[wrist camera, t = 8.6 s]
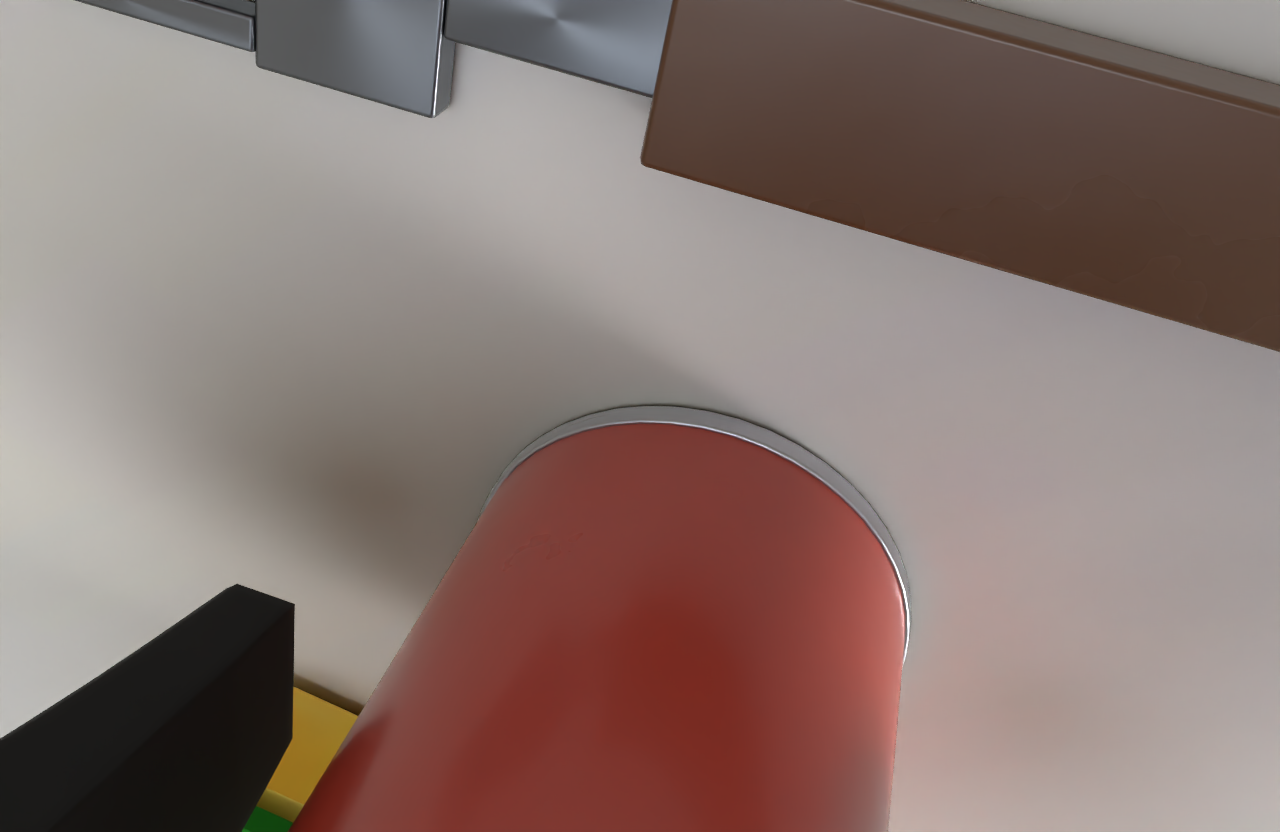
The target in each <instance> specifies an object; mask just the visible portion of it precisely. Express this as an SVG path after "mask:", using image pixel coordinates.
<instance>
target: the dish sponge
mask: <svg viewBox="0 0 1280 832" xmlns="http://www.w3.org/2000/svg"><path fill="white" fill-rule="evenodd" d="M357 718H358V716H357V715H355V714H353V713H351V712H348V711H346V710H344V709H342V708H340V707H337V706H335V705H333V704H331V703H329V702H326V701H324V700H322V699H320V698H318V697H315V696H313V695H311V694H309V693H307V692H304V691H302V690H300V689H298V688H296V687H294V686H293V739H292V740H291V742H290V744H289V746H288V748H287V750H286V752H285V754H284V755H283V757H282V759H281V761H280V763H279V765H278V767H277V769H276V770H275V772H274V774H273V776H272V778H271V780H270V782H269V783H268V785H267V787H266V789H265V791H264V793H263V795H262V796H261V798H260V800H259V802H258V803H257V805H256V807H255V809H254V811H253V812H252V814H251V816H250V818H249V819H248V821H247V823H246V825H245V827H244V828H243V830H242V832H288V830H289V829H290V827H291V826H292V824H293V822H294V821H295V819H296V817H297V816H298V814H299V813H300V811H301V809H302V808H303V806H304V804H305V803H306V801H307V799H308V798H309V796H310V795H311V793H312V791H313V790H314V788H315V786H316V785H317V783H318V781H319V780H320V778H321V777H322V775H323V773H324V772H325V770H326V768H327V767H328V765H329V763H330V762H331V760H332V759H333V757H334V755H335V754H336V752H337V750H338V749H339V747H340V745H341V744H342V742H343V741H344V739H345V737H346V736H347V734H348V732H349V731H350V729H351V727H352V726H353V724H354V723H355V721H356V719H357Z"/></svg>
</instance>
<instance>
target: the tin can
mask: <svg viewBox="0 0 1280 832" xmlns="http://www.w3.org/2000/svg"><path fill="white" fill-rule="evenodd" d="M910 627H911V596H910V590H909V585H908V579H907V574H906V571H905V568H904V565H903V562H902V560H901V557H900V554H899V551H898V549H897V547H896V545H895V543H894V541H893V540H892V538H891V536H890V534H889V532H888V530H887V528H886V526H885V525H884V524H883V522H882V521H881V520H880V518H879V517H878V515H877V514H876V513H875V511H874V510H873V508H872V507H871V506H870V504H869V503H868V502H867V501H866V500H865V499H864V498H863V497H862V496H861V494H860V493H859V492H858V491H857V490H856V489H855V488H854V487H853V486H852V485H851V484H850V483H849V482H848V481H847V480H846V479H845V478H843V477H842V476H841V475H840V474H839V473H837V472H836V471H835V470H834V469H833V468H831V467H830V466H829V465H828V464H826V463H825V462H824V461H822V460H821V459H819V458H818V457H816V456H815V455H813V454H812V453H810V452H809V451H807V450H805V449H804V448H802V447H801V446H799V445H798V444H796V443H794V442H792V441H790V440H788V439H786V438H784V437H782V436H780V435H778V434H776V433H774V432H772V431H770V430H767V429H765V428H762V427H759V426H757V425H754V424H751V423H749V422H746V421H743V420H741V419H737V418H733V417H729V416H725V415H722V414H718V413H714V412H710V411H704V410H697V409H690V408H683V407H670V406H639V407H628V408H617V409H613V410H608V411H603V412H599V413H594V414H590V415H587V416H584V417H582V418H579V419H576V420H573V421H571V422H568V423H565V424H563V425H561V426H559V427H557V428H555V429H554V430H552V431H550V432H548V433H546V434H544V435H542V436H541V437H539V438H538V439H537V440H535V441H534V442H533V443H531V444H530V445H529V446H528V447H526V448H525V449H524V450H522V451H521V452H520V453H519V454H518V456H517V457H516V458H515V459H514V460H513V461H512V462H511V463H510V464H509V465H508V466H507V467H506V469H505V470H504V472H503V473H502V475H501V476H500V478H499V479H498V481H497V482H496V484H495V485H494V487H493V489H492V490H491V492H490V493H489V495H488V497H487V499H486V501H485V504H484V506H483V508H482V511H481V513H480V515H479V519H478V521H477V523H476V525H475V526H474V528H473V530H472V531H471V533H470V535H469V536H468V538H467V539H466V541H465V543H464V544H463V546H462V548H461V549H460V551H459V553H458V554H457V556H456V557H455V559H454V561H453V562H452V564H451V566H450V567H449V569H448V571H447V572H446V574H445V575H444V577H443V579H442V580H441V582H440V584H439V585H438V587H437V589H436V590H435V592H434V593H433V595H432V597H431V598H430V600H429V602H428V603H427V605H426V607H425V608H424V610H423V611H422V613H421V615H420V616H419V618H418V620H417V621H416V623H415V624H414V626H413V628H412V629H411V631H410V633H409V634H408V636H407V638H406V639H405V641H404V642H403V644H402V646H401V647H400V649H399V651H398V652H397V654H396V656H395V657H394V659H393V660H392V662H391V664H390V665H389V667H388V669H387V670H386V672H385V674H384V675H383V677H382V678H381V680H380V682H379V683H378V685H377V687H376V688H375V690H374V692H373V693H372V695H371V696H370V698H369V700H368V701H367V703H366V705H365V706H364V708H363V710H362V711H361V713H360V714H359V716H358V718H357V719H356V721H355V723H354V724H353V726H352V727H351V729H350V731H349V732H348V734H347V736H346V737H345V739H344V741H343V742H342V744H341V745H340V747H339V749H338V750H337V752H336V754H335V755H334V757H333V759H332V760H331V762H330V763H329V765H328V767H327V768H326V770H325V772H324V773H323V775H322V777H321V778H320V780H319V781H318V783H317V785H316V786H315V788H314V790H313V791H312V793H311V795H310V796H309V798H308V799H307V801H306V803H305V804H304V806H303V808H302V809H301V811H300V813H299V814H298V816H297V817H296V819H295V821H294V822H293V824H292V826H291V827H290V829H289V830H288V832H888V825H889V813H890V802H891V790H892V779H893V768H894V756H895V745H896V733H897V722H898V710H899V699H900V687H901V676H902V666H903V663H904V661H905V658H906V653H907V648H908V643H909V637H910Z"/></svg>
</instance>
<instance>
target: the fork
mask: <svg viewBox="0 0 1280 832" xmlns="http://www.w3.org/2000/svg"><path fill="white" fill-rule="evenodd" d="M75 1H79V2H82V3H86V4H89V5H92V6H96V7H99V8H103V9H106V10H109V11H113V12H116V13H120V14H123V15H127V16H130V17H133V18H137V19H140V20H144V21H147V22H151V23H154V24H157V25H161V26H164V27H168V28H171V29H174V30H178V31H181V32H185V33H188V34H192V35H195V36H198V37H202V38H205V39H209V40H212V41H215V42H219V43H222V44H226V45H229V46H233V47H236V48H239V49H243V50H246V51H250V52H255V51H256V65H257V66H258V67H259V68H262V69H265V70H269V71H272V72H276V73H279V74H282V75H286V76H289V77H293V78H296V79H299V80H303V81H306V82H310V83H313V84H317V85H320V86H323V87H327V88H330V89H334V90H337V91H340V92H344V93H347V94H351V95H354V96H357V97H361V98H364V99H368V100H371V101H374V102H378V103H381V104H385V105H388V106H391V107H395V108H398V109H402V110H405V111H408V112H412V113H415V114H419V115H422V116H425V117H429V118H435V117H436V116H437V115H439V114H440V113H441V112H443V111H444V110H445V109H446V108H448V106H449V104H450V94H451V83H452V73H453V62H454V52H455V42H457V43H461V44H464V45H468V46H471V47H475V48H478V49H482V50H485V51H489V52H492V53H496V54H499V55H503V56H506V57H510V58H513V59H517V60H520V61H524V62H527V63H531V64H534V65H538V66H541V67H545V68H548V69H552V70H555V71H559V72H562V73H566V74H569V75H573V76H576V77H580V78H583V79H587V80H590V81H594V82H597V83H601V84H604V85H608V86H611V87H615V88H618V89H622V90H625V91H629V92H632V93H636V94H639V95H643V96H646V97H650V98H652V103H651V108H650V113H649V117H648V122H647V127H646V132H645V137H644V142H643V147H642V152H641V156H640V158H641V164H642V165H644V166H646V167H649V168H653V169H656V170H659V171H663V172H666V173H670V174H673V175H677V176H680V177H683V178H687V179H690V180H694V181H697V182H700V183H704V184H707V185H711V186H714V187H718V188H721V189H724V190H728V191H731V192H735V193H738V194H741V195H745V196H748V197H752V198H755V199H759V200H762V201H765V202H769V203H772V204H776V205H779V206H783V207H786V208H789V209H793V210H796V211H800V212H803V213H806V214H810V215H813V216H817V217H820V218H824V219H827V220H830V221H834V222H837V223H841V224H844V225H848V226H851V227H854V228H858V229H861V230H865V231H868V232H871V233H875V234H878V235H882V236H885V237H889V238H892V239H895V240H899V241H902V242H906V243H909V244H913V245H916V246H919V247H923V248H926V249H930V250H933V251H936V252H940V253H943V254H947V255H950V256H954V257H957V258H960V259H964V260H967V261H971V262H974V263H977V264H981V265H984V266H988V267H991V268H995V269H998V270H1001V271H1005V272H1008V273H1012V274H1015V275H1019V276H1022V277H1025V278H1029V279H1032V280H1036V281H1039V282H1042V283H1046V284H1049V285H1053V286H1056V287H1060V288H1063V289H1066V290H1070V291H1073V292H1077V293H1080V294H1084V295H1087V296H1090V297H1094V298H1097V299H1101V300H1104V301H1107V302H1111V303H1114V304H1118V305H1121V306H1125V307H1128V308H1131V309H1135V310H1138V311H1142V312H1145V313H1149V314H1152V315H1155V316H1159V317H1162V318H1166V319H1169V320H1172V321H1176V322H1179V323H1183V324H1186V325H1190V326H1193V327H1196V328H1200V329H1203V330H1207V331H1210V332H1214V333H1217V334H1220V335H1224V336H1227V337H1231V338H1234V339H1237V340H1241V341H1244V342H1248V343H1251V344H1255V345H1258V346H1261V347H1265V348H1268V349H1272V350H1275V351H1278V352H1280V85H1276V84H1272V83H1268V82H1265V81H1261V80H1257V79H1253V78H1250V77H1246V76H1242V75H1239V74H1235V73H1231V72H1227V71H1224V70H1220V69H1216V68H1213V67H1209V66H1205V65H1201V64H1198V63H1194V62H1190V61H1186V60H1183V59H1179V58H1175V57H1172V56H1168V55H1164V54H1160V53H1157V52H1153V51H1149V50H1146V49H1142V48H1138V47H1134V46H1131V45H1127V44H1123V43H1119V42H1116V41H1112V40H1108V39H1105V38H1101V37H1097V36H1093V35H1090V34H1086V33H1082V32H1079V31H1075V30H1071V29H1067V28H1064V27H1060V26H1056V25H1052V24H1049V23H1045V22H1041V21H1038V20H1034V19H1030V18H1026V17H1023V16H1019V15H1015V14H1012V13H1008V12H1004V11H1000V10H997V9H993V8H989V7H985V6H982V5H978V4H974V3H971V2H967V1H963V0H255V3H253V2H250V1H246V0H75Z"/></svg>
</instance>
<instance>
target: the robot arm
mask: <svg viewBox="0 0 1280 832" xmlns="http://www.w3.org/2000/svg"><path fill="white" fill-rule="evenodd" d="M294 611H295V604H293V603H290V602H287V601H285V600H282V599H279V598H276V597H273V596H270V595H267V594H264V593H262V592H259V591H256V590H253V589H250V588H247V587H244V586H241V585H239V584H236V585H234V586H231V587H229V588H227V589H225V590H224V591H222V592H221V593H219V594H218V595H217V596H215V597H214V598H212V599H211V600H209V601H208V602H206V603H205V604H204V605H202V606H201V607H199V608H198V609H196V610H195V611H193V612H192V613H191V614H189V615H188V616H186V617H185V618H183V619H182V620H180V621H179V622H178V623H176V624H175V625H173V626H172V627H170V628H169V629H167V630H166V631H164V632H163V633H162V634H160V635H159V636H157V637H156V638H154V639H153V640H151V641H150V642H148V643H147V644H145V645H144V646H143V647H141V648H140V649H138V650H137V651H135V652H134V653H132V654H131V655H129V656H128V657H126V658H125V659H123V660H122V661H120V662H119V663H117V664H116V665H114V666H113V667H111V668H110V669H108V670H107V671H105V672H104V673H102V674H101V675H99V676H98V677H96V678H95V679H93V680H92V681H90V682H89V683H87V684H86V685H84V686H82V687H81V688H79V689H78V690H76V691H75V692H73V693H71V694H70V695H68V696H67V697H65V698H64V699H62V700H60V701H59V702H57V703H56V704H54V705H53V706H51V707H50V708H48V709H46V710H45V711H43V712H42V713H40V714H39V715H37V716H35V717H34V718H32V719H31V720H29V721H28V722H26V723H25V724H23V725H21V726H20V727H18V728H17V729H15V730H13V731H12V732H10V733H9V734H7V735H5V736H4V737H2V738H0V832H242V830H243V828H244V827H245V825H246V823H247V821H248V819H249V818H250V816H251V814H252V812H253V811H254V809H255V807H256V805H257V803H258V802H259V800H260V798H261V796H262V795H263V793H264V791H265V789H266V787H267V785H268V783H269V782H270V780H271V778H272V776H273V774H274V772H275V770H276V769H277V767H278V765H279V763H280V761H281V759H282V757H283V755H284V754H285V752H286V750H287V748H288V746H289V744H290V742H291V740H292V739H293V676H294Z"/></svg>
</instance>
